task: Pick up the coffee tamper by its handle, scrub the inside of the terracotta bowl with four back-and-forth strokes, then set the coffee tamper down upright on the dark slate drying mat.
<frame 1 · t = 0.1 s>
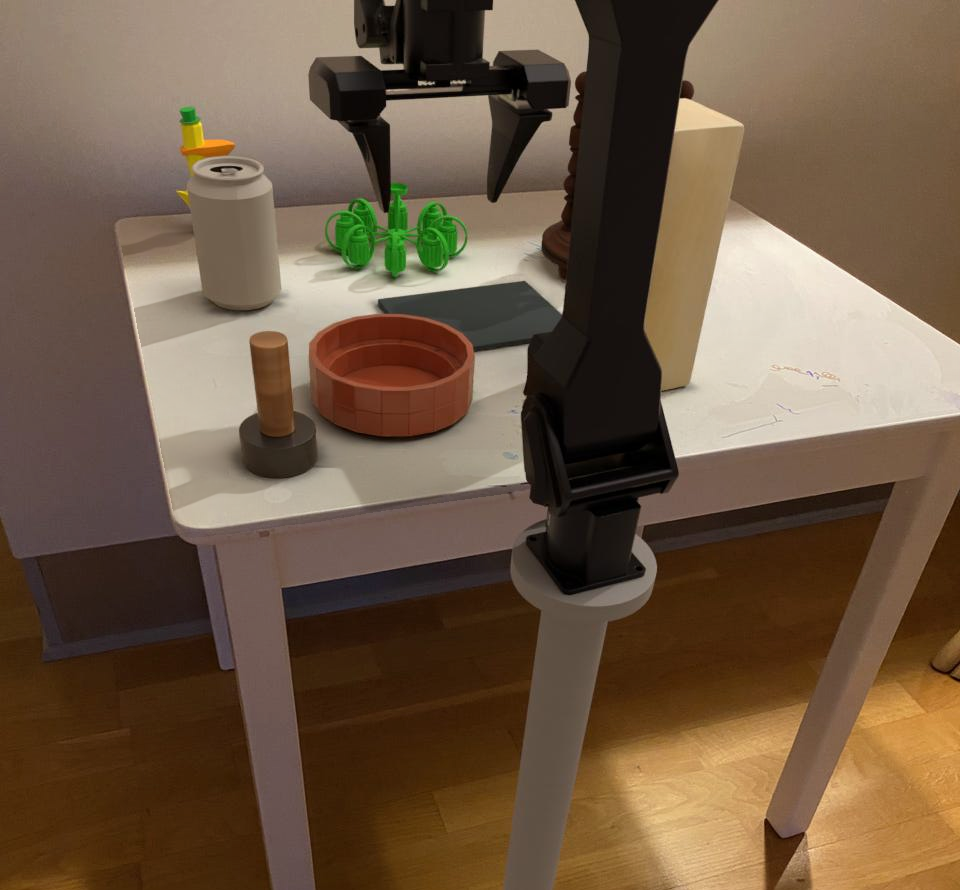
hand: (439, 206, 74), 13 cm above the table, tool pointing down, fingers open, 9 cm apart
mat: (477, 319, 90), on the table
chandelier: (396, 256, 101), on the table
toy figure: (213, 231, 103), on the table
coffee tamper: (280, 457, 71), on the table
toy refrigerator: (630, 374, 84), on the table
bowl: (392, 400, 78), on the table
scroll: (607, 268, 102), on the table
can: (243, 299, 91), on the table
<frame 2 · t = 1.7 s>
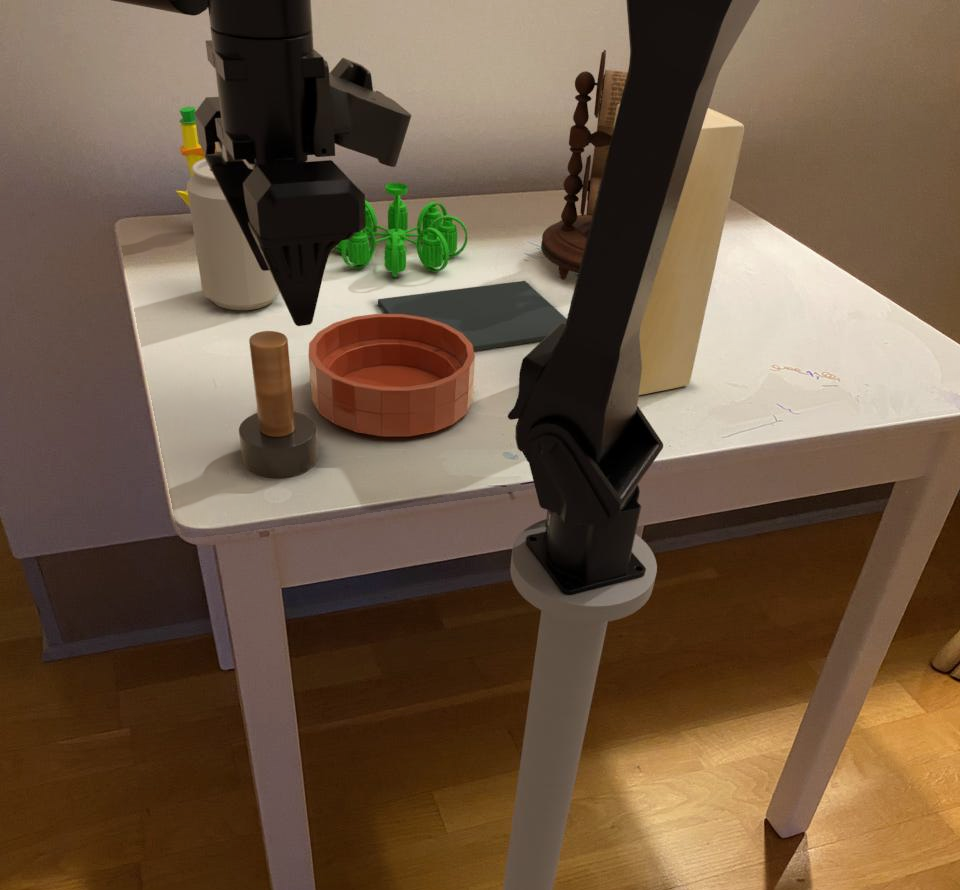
hand: (285, 295, 64), 12 cm above the table, tool pointing down, fingers open, 9 cm apart
nothing on the table moved.
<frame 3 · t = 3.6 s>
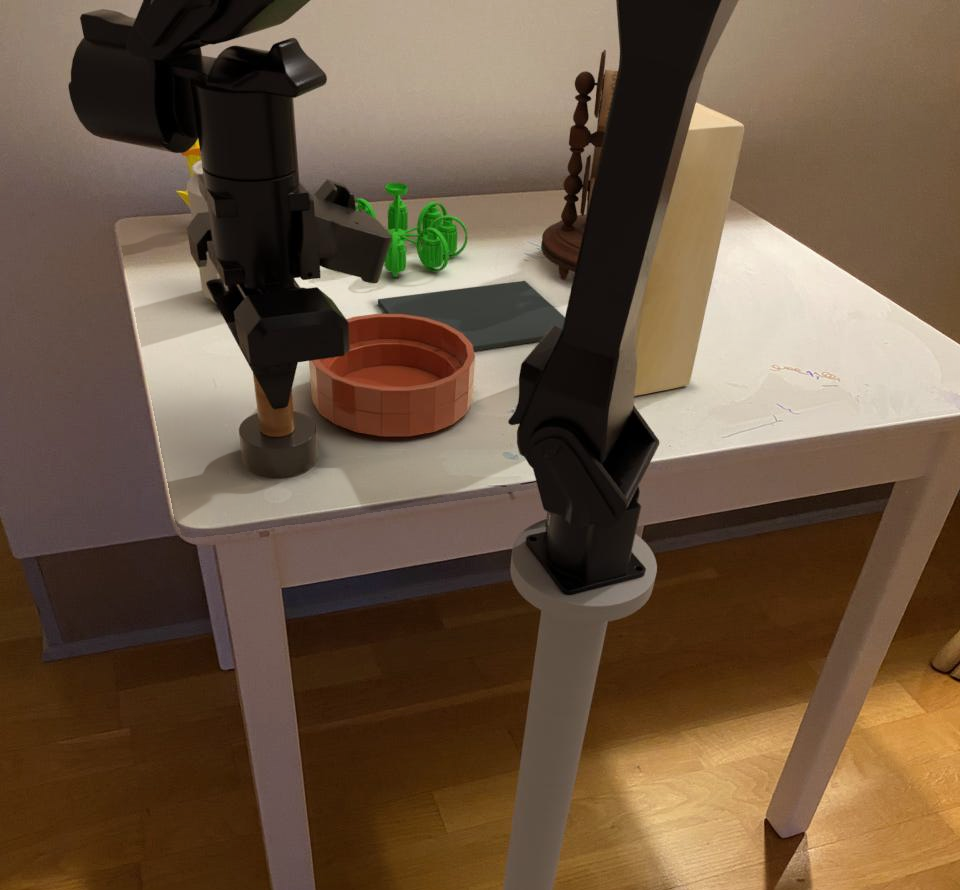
hand: (274, 397, 68), 5 cm above the table, tool pointing down, fingers closed on coffee tamper, 2 cm apart
coffee tamper: (280, 457, 71), on the table, touching gripper
everything else where it was.
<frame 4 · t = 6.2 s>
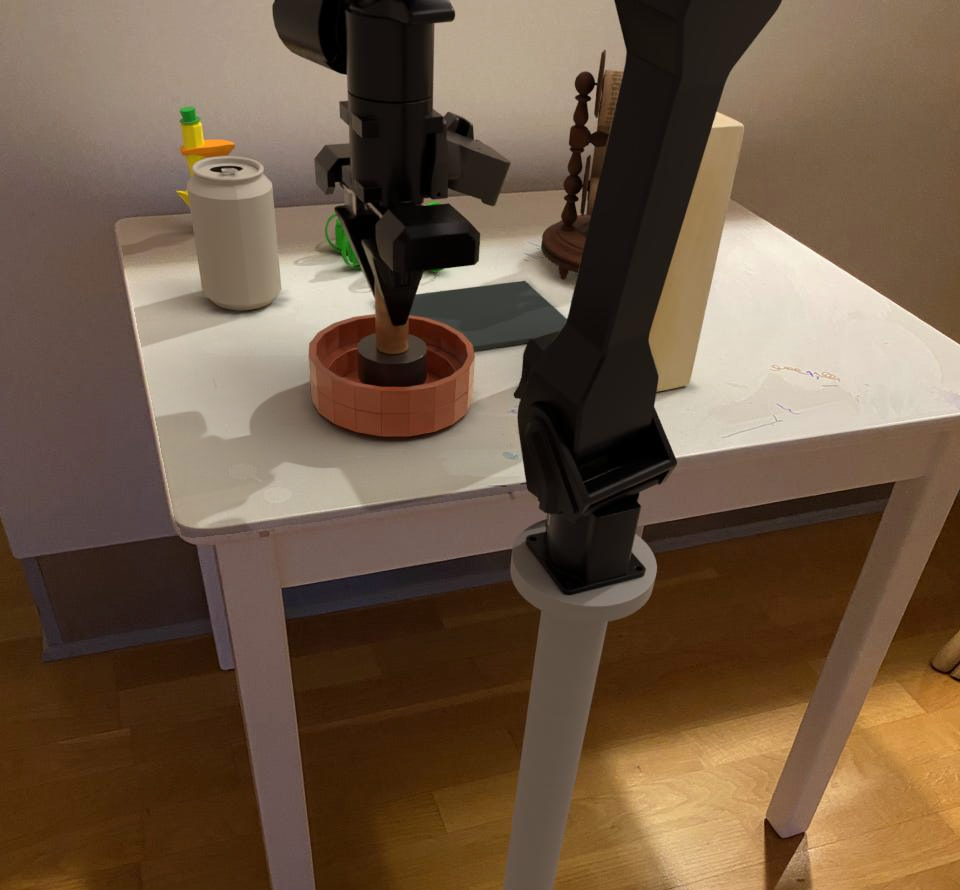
hand: (392, 317, 73), 7 cm above the table, tool pointing down, fingers closed on coffee tamper, 2 cm apart
coffee tamper: (392, 375, 77), point 2 cm above the table, touching gripper
everything else where it was.
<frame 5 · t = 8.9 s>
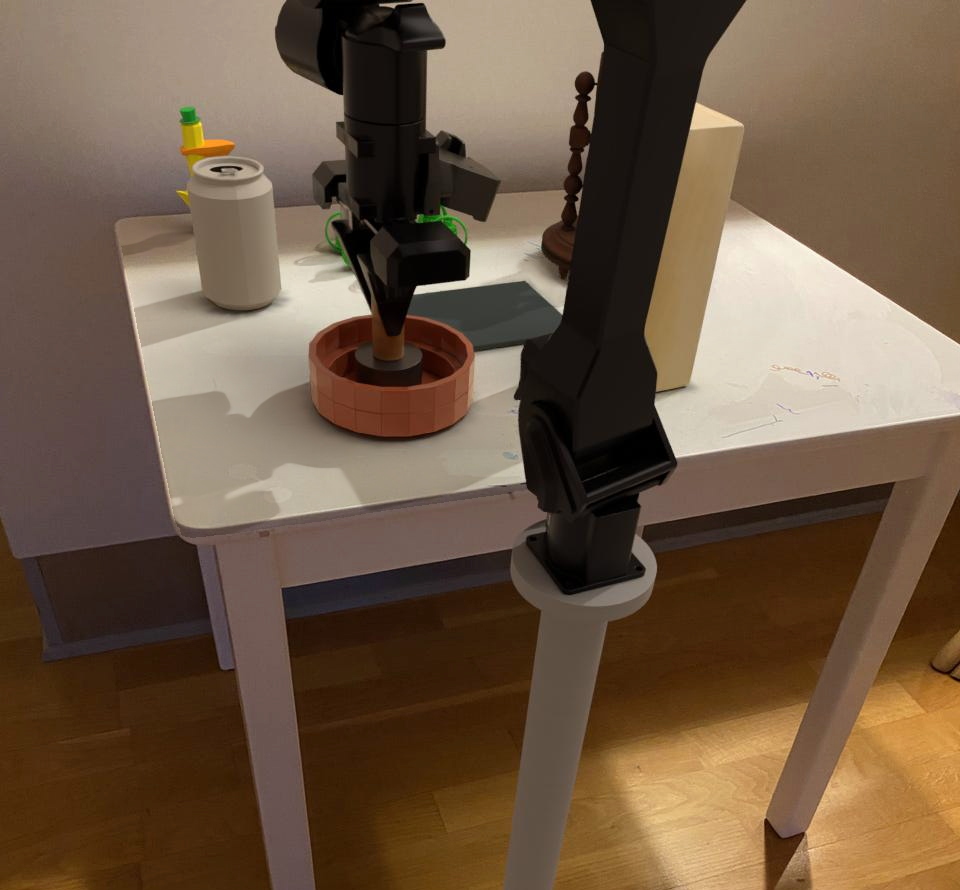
hand: (387, 327, 76), 5 cm above the table, tool pointing down, fingers closed on coffee tamper, 2 cm apart
coffee tamper: (389, 381, 79), point 1 cm above the table, touching gripper
everything else where it was.
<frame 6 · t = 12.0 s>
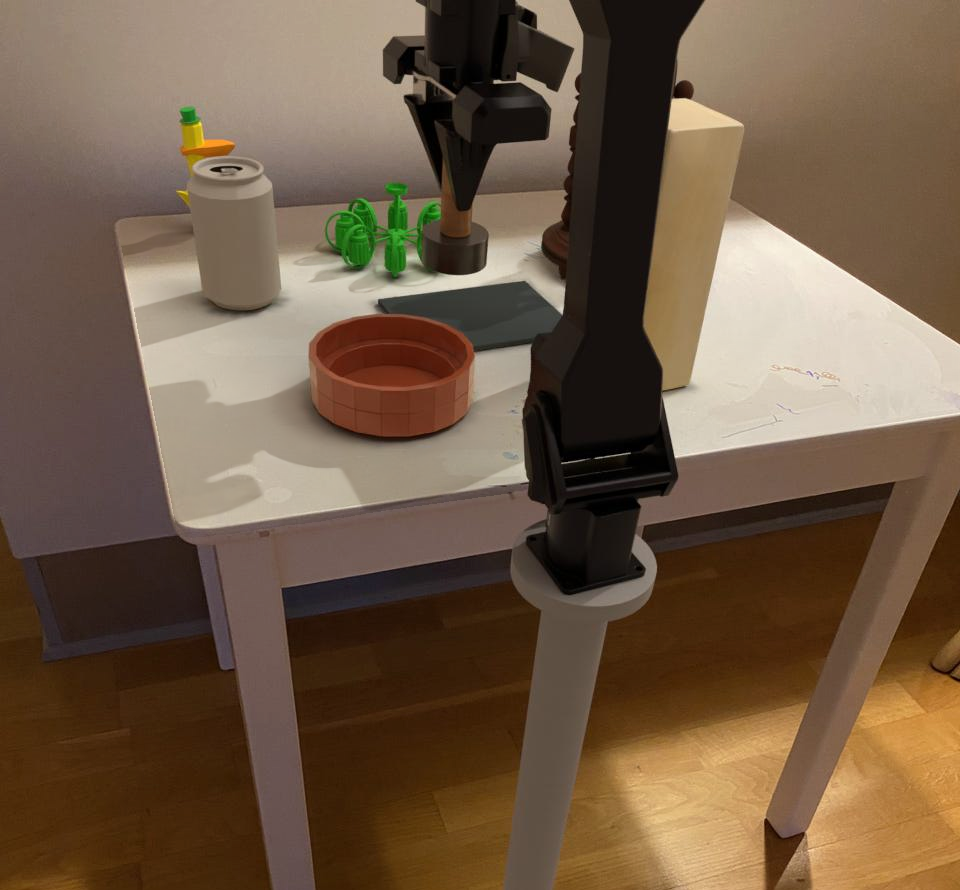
hand: (456, 204, 77), 13 cm above the table, tool pointing down, fingers closed on coffee tamper, 2 cm apart
coffee tamper: (454, 261, 80), point 8 cm above the table, touching gripper
everything else where it was.
when the fingers open (5 cm above the table, at t = 14.3 s): coffee tamper stays where it is, resting on mat.
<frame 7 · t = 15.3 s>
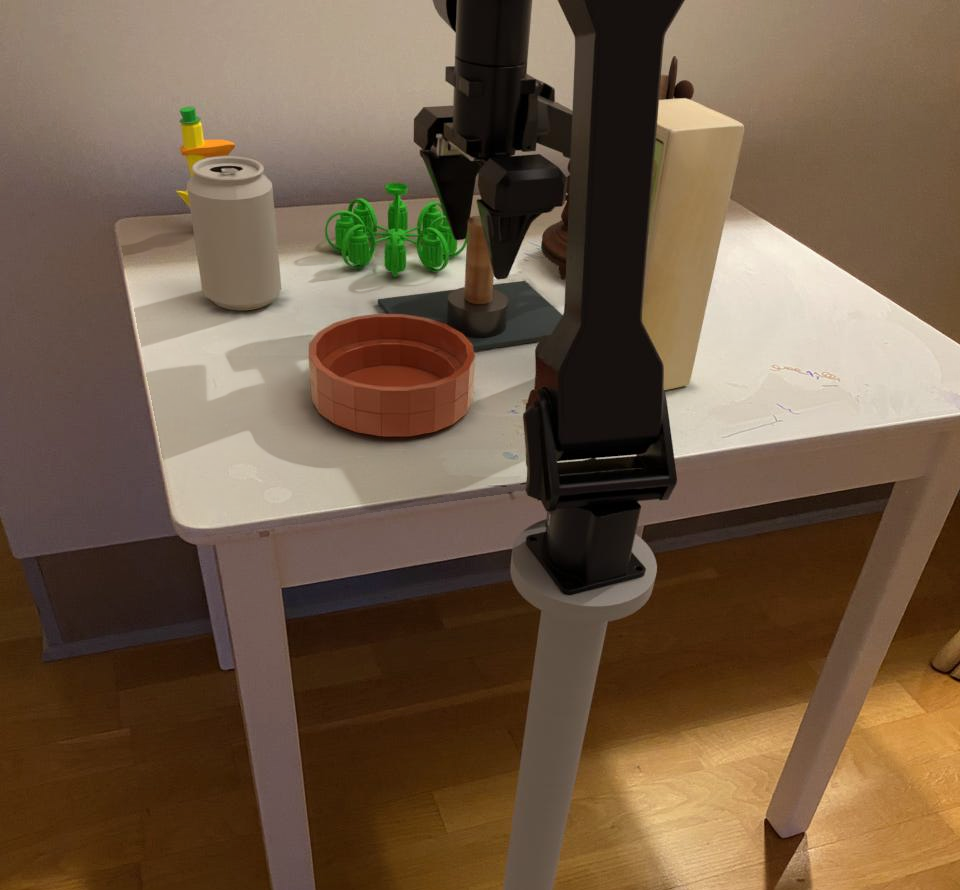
hand: (479, 258, 84), 7 cm above the table, tool pointing down, fingers open, 9 cm apart
coffee tamper: (476, 324, 88), resting on mat
everything else where it was.
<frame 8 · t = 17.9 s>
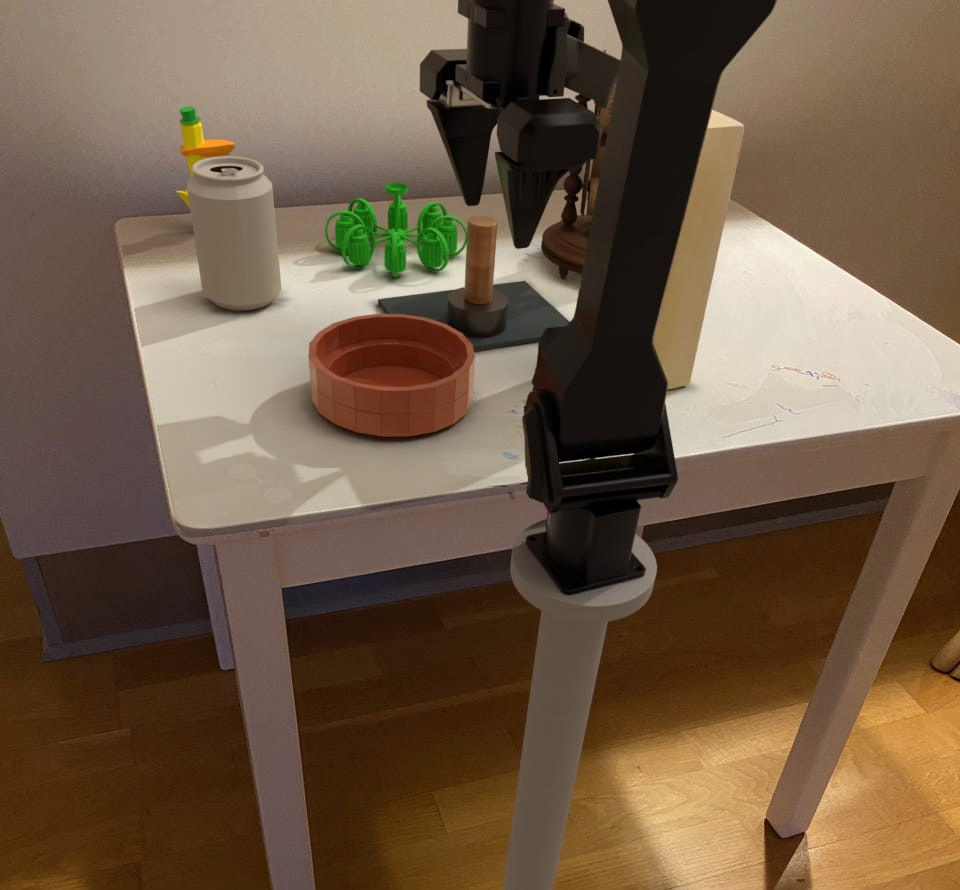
hand: (496, 225, 73), 13 cm above the table, tool pointing down, fingers open, 9 cm apart
nothing on the table moved.
at the end: coffee tamper inside the target area on the mat (2.2 cm from its centre), point 0.5 cm above the mat's base; coffee tamper tilted 0°; the gripper is holding nothing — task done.
